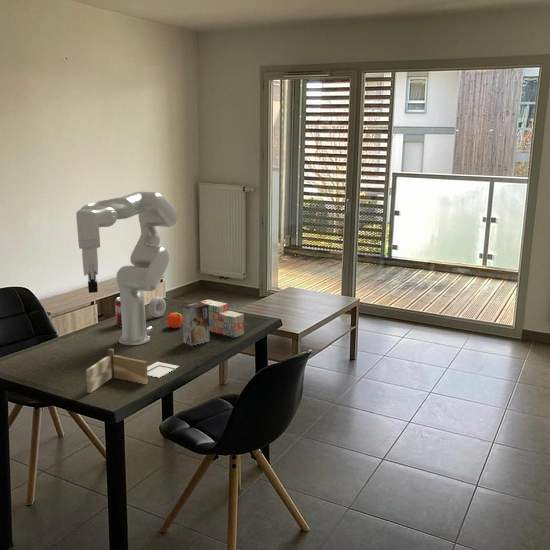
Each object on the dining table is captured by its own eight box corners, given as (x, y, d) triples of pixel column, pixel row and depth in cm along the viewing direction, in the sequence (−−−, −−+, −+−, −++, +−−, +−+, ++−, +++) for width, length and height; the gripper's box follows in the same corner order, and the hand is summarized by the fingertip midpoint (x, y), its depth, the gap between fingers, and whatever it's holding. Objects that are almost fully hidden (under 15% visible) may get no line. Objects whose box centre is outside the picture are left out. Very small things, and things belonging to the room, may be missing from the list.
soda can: (126, 321, 287) (124, 296, 284) (136, 324, 282) (135, 298, 279) (113, 325, 281) (111, 299, 278) (123, 328, 277) (121, 302, 274)
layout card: (157, 362, 236) (157, 361, 236) (179, 367, 232) (179, 365, 231) (136, 373, 226) (136, 372, 226) (159, 378, 221) (159, 377, 221)
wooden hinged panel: (112, 374, 224) (110, 348, 222) (148, 383, 217) (147, 355, 215) (108, 376, 223) (106, 350, 220) (145, 385, 215) (143, 357, 213)
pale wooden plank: (109, 376, 222) (107, 355, 220) (112, 377, 222) (110, 355, 220) (87, 392, 209) (85, 370, 207) (90, 393, 208) (89, 370, 207)
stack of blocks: (244, 334, 268) (244, 307, 266) (234, 338, 264) (234, 310, 261) (208, 325, 281) (207, 298, 279) (198, 328, 277) (197, 301, 274)
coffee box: (201, 338, 264) (200, 301, 260) (210, 342, 259) (209, 304, 255) (182, 342, 258) (181, 305, 254) (191, 346, 253) (189, 308, 250)
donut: (162, 314, 298) (161, 293, 295) (167, 315, 296) (167, 294, 294) (147, 319, 290) (146, 298, 287) (152, 320, 288) (151, 299, 286)
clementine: (187, 326, 280) (187, 310, 278) (181, 331, 273) (180, 315, 272) (170, 324, 282) (170, 309, 280) (164, 329, 275) (163, 313, 274)
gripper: (78, 240, 234) (82, 288, 238) (79, 247, 220) (83, 298, 225) (98, 239, 236) (102, 286, 241) (101, 246, 222) (104, 296, 227)
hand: (93, 291), depth 233 cm, fingers closed
